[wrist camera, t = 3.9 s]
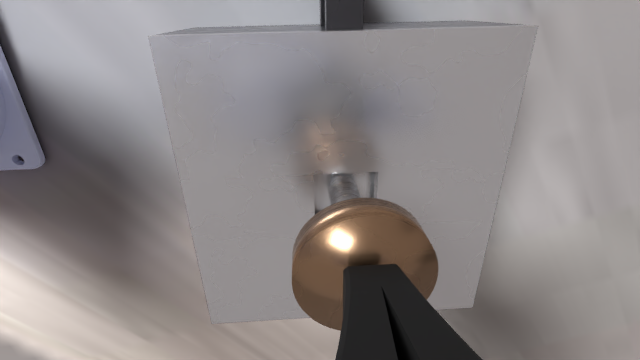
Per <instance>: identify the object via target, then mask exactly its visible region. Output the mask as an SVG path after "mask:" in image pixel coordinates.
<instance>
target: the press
mask: <svg viewBox="0 0 640 360" xmlns="http://www.w3.org/2000/svg"><path fill="white" fill-rule="evenodd" d="M363 12H364V0H320V25H284V26H245V27H206V28H190V29H185V30H179V31H174V32H168V33H163V34H158V35H152V36H148V38H149V43H150V47H151V52H152V56H153V61H154V65H155V70H156V74H157V79H158V84H159V88H160V93H161V97H162V102H163V106H164V111H165V115H166V120H167V124H168V129H169V133H170V138H171V142H172V147H173V151H174V156H175V160H176V165H177V169H178V174H179V178H180V183H181V187H182V192H183V196H184V201H185V206H186V210H187V215H188V219H189V224H190V228H191V233H192V237H193V242H194V246H195V251H196V255H197V260H198V264H199V269H200V273H201V278H202V282H203V287H204V291H205V296H206V300H207V305H208V309H209V314H210V318H211V323H212V324H216V323H232V322H248V321H264V320H280V319H296V318H311V317H309V316H308V315H307V314H306V313H305V312H304V311H303V310H302V308H301V307H300V306H299V304H298V303H297V301H296V299H295V296H294V293H293V289H292V252H293V246H294V243H295V240H296V238H297V236H298V234H299V232H300V230H301V229H302V228H303V226H304V225H305V224H306V223H307V222H308V221H309V219H310V218H312V217H313V216H314V215H315V208H314V177H313V174H336V173H358V172H375V179H374V198H377V199H383V200H387V201H390V202H393V203H395V204H398V205H399V206H401V207H403V208H405V209H406V210H407V211H408V212H410V213H411V214H412V215H413V216H414V217H415V218H416V219H417V221H418V222H419V224H420V225H421V227H422V229H423V230H424V232H425V234H426V236H427V237H428V239H429V241H430V243H431V244H432V246H433V248H434V250H435V253H436V256H437V259H438V268H439V269H438V277H437V282H436V285H435V287H434V289H433V291H432V293H431V295H430V296H429V298H428V299H427V301H428V302H429V303H430V304H431V306H432V307H433V308H434V309H435V310H441V309H457V308H473V304H474V299H475V295H476V291H477V287H478V282H479V278H480V274H481V269H482V265H483V261H484V257H485V252H486V248H487V244H488V239H489V235H490V231H491V227H492V222H493V218H494V214H495V209H496V205H497V201H498V197H499V192H500V188H501V184H502V179H503V175H504V171H505V167H506V162H507V158H508V154H509V149H510V145H511V141H512V137H513V132H514V128H515V124H516V119H517V115H518V111H519V107H520V102H521V98H522V94H523V89H524V85H525V81H526V77H527V72H528V68H529V64H530V59H531V55H532V51H533V47H534V42H535V38H536V34H537V29H538V26H533V25H519V24H505V23H491V22H477V21H439V22H400V23H363Z"/></svg>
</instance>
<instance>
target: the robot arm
mask: <svg viewBox="0 0 640 360" xmlns="http://www.w3.org/2000/svg"><path fill="white" fill-rule="evenodd" d="M18 155H19V156H21V157H22V158H23V159H24V162H23V161H21V160H20V159H19V158H18ZM44 163H45V156H44V154H43V151H42V149H41V146H40V144H39V141H38V139H37V136H36V134H35V131H34V128H33V126H32V123H31V121H30V118H29V116H28V113H27V111H26V108H25V106H24V103H23V101H22V98H21V96H20V93H19V91H18V88H17V86H16V83H15V81H14V78H13V76H12V73H11V71H10V68H9V66H8V63H7V61H6V58H5V56H4V53H3V51H2V48H1V46H0V170H22V169H36V168H39V167H40V166H42V165H43V164H44ZM335 360H482V359H481V358H480V357H479V356H478V355H477V354H476V353H475V352H474V351H473V350H472V349H471V348H470V347H469V346H468V345H467V344H466V342H465V341H464V340H463V339H462V338H461V337H460V336H459V335H458V334H457V333H456V332H455V331H454V330H453V329H452V328H451V327H450V325H449V324H448V323H447V322H446V321H445V320H444V319H443V318H442V317H441V316H440V315H439V313H438V312H437V311H436V310H435V309H434V308H433V307H432V306H431V304H430V303H429V302H428V301H427V300H426V299H425V297H424V296H423V295H422V294H421V293H420V292H419V290H418V289H417V288H416V287H415V286H414V284H413V283H412V282H411V281H410V279H409V278H408V277H407V276H406V275H405V273H404V272H403V271H402V270H401V268H400V267H399V266H398V265H397V264H382V265H364V266H348V267H347V268H345V269H344V270H343V321H342V328H341V335H340V341H339V346H338V350H337V355H336V359H335Z"/></svg>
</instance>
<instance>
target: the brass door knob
mask: <svg viewBox="0 0 640 360" xmlns="http://www.w3.org/2000/svg"><path fill="white" fill-rule="evenodd" d="M313 177H314V208H315V215H314V216H313V217H312V218H310V219H309V221H308V222H307V223H306V224H305V225H304V226H303V228H302V229H301V230H300V232H299V234H298V236H297V238H296V240H295V243H294V246H293V252H292V289H293V293H294V296H295V299H296V301H297V303H298V304H299V306H300V307H301V308H302V310H303V311H304V312H305V313H306V314H307V315H308V316H309V317H311V318H312V319H313V320H315V321H317V322H318V323H320V324H322V325H324V326H327V327H329V328H333V329H336V330H341V328H342V321H343V270H344V269H345V268H347V267H348V266H364V265H382V264H397V265H398V266H399V267H400V268H401V270H402V271H403V272H404V273H405V275H406V276H407V277H408V278H409V279H410V281H411V282H412V283H413V284H414V286H415V287H416V288H417V289H418V290H419V292H420V293H421V294H422V295H423V296H424V297H425V299H426V300H427V299H428V298H429V296H430V295H431V293H432V291H433V289H434V287H435V285H436V282H437V277H438V269H439V268H438V259H437V256H436V253H435V250H434V248H433V246H432V244H431V243H430V241H429V239H428V237H427V236H426V234H425V232H424V230H423V229H422V227H421V225H420V224H419V222H418V221H417V219H416V218H415V217H414V216H413V215H412V214H411V213H410V212H408V211H407V210H406V209H405V208H403V207H401V206H399V205H398V204H395V203H393V202H390V201H387V200H383V199H377V198H374V179H375V172H358V173H336V174H313Z"/></svg>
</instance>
